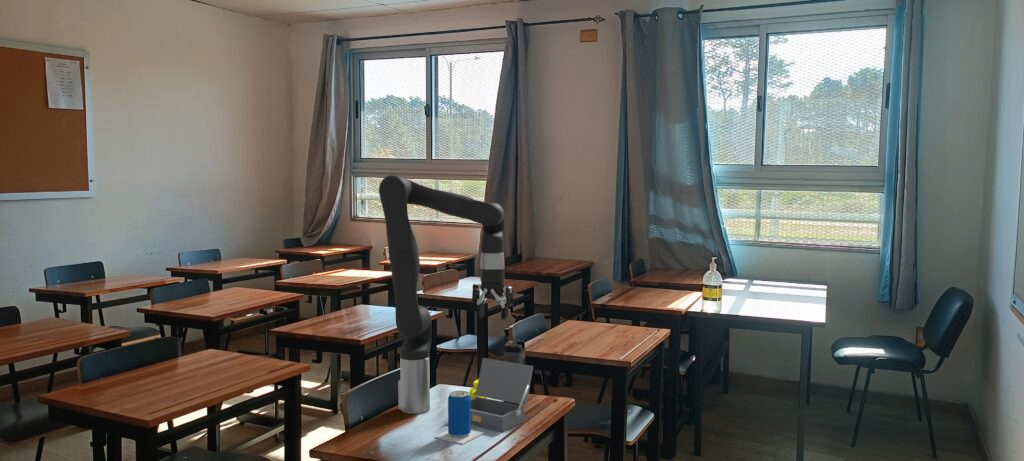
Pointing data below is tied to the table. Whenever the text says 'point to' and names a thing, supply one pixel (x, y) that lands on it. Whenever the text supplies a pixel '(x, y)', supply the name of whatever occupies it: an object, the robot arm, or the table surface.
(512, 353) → the electronic device
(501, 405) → the case
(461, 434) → the beverage can
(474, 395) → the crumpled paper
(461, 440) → the pad
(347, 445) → the table surface
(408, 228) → the robot arm
